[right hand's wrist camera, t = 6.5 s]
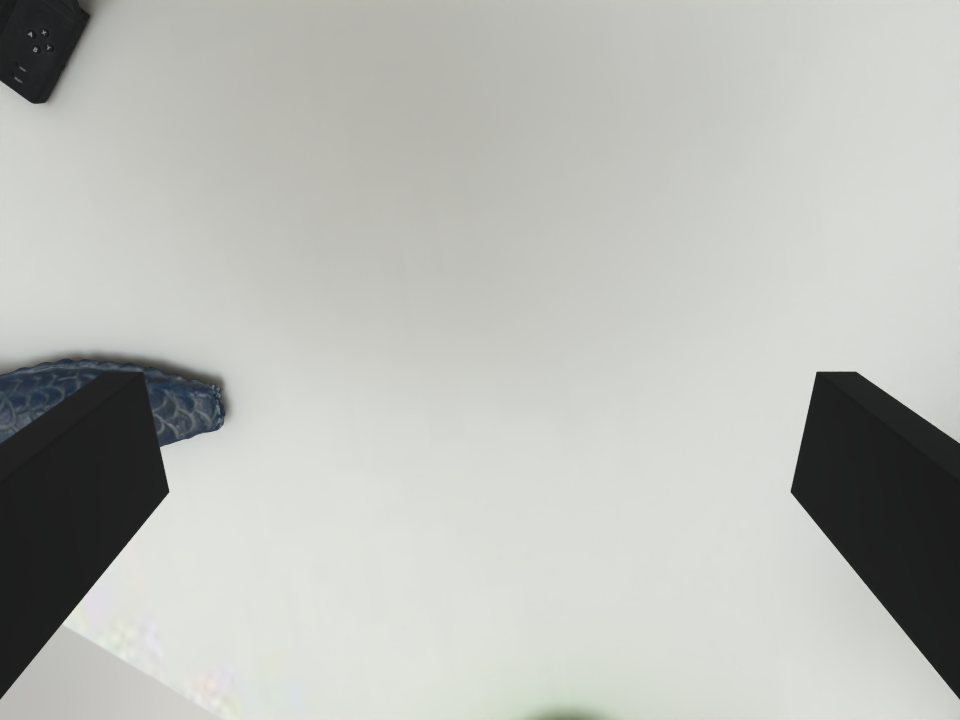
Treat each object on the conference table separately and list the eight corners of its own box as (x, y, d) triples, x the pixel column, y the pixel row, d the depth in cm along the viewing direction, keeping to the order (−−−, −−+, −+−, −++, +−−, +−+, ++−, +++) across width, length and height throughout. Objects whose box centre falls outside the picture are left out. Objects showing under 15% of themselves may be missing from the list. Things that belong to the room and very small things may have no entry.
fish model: (-96, 359, 42) (-167, 391, 37) (217, 346, 42) (185, 376, 37) (-59, 446, 44) (-121, 486, 40) (236, 434, 44) (209, 473, 39)
